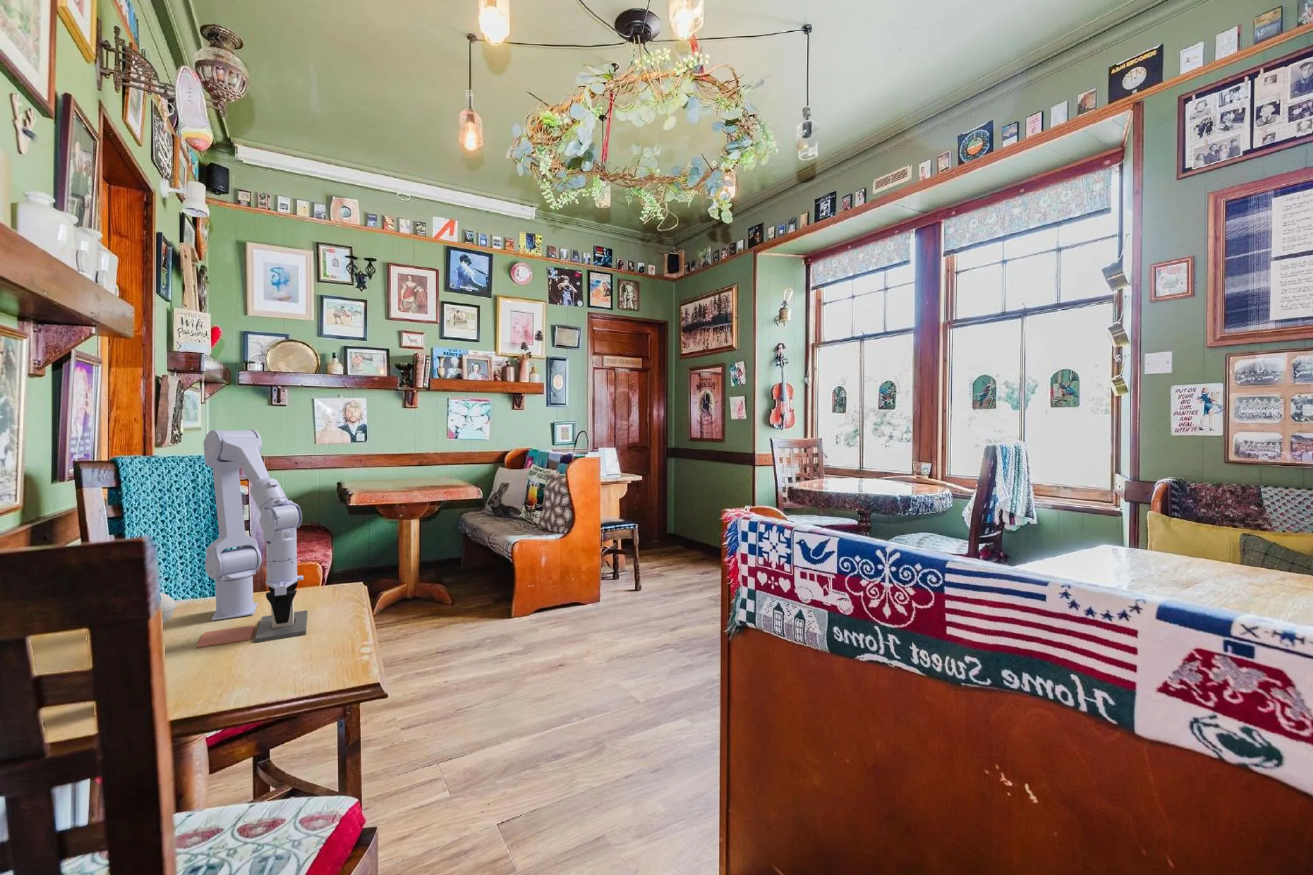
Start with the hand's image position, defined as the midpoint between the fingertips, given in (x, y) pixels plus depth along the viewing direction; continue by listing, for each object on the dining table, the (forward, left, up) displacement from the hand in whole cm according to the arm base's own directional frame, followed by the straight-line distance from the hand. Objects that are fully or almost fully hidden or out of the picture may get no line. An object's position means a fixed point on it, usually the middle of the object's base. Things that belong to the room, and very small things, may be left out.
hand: (283, 619), depth 128 cm
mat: (+1, -10, -2) cm, 10 cm away
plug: (0, 0, -2) cm, 2 cm away
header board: (0, 0, -2) cm, 2 cm away
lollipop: (+18, -18, -2) cm, 26 cm away
